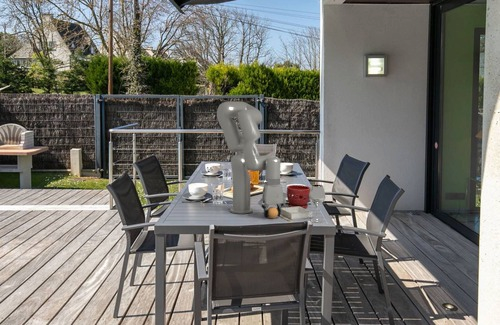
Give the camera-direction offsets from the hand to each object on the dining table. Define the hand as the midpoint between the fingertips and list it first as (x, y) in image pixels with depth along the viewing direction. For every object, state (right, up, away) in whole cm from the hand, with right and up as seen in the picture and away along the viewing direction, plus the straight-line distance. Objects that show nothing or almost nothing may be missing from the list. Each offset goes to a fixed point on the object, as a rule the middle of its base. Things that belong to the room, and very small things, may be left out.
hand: (272, 216), depth 251 cm
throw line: (+6, -1, +2) cm, 6 cm away
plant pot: (+16, +2, +25) cm, 29 cm away
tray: (+13, 0, +6) cm, 14 cm away
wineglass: (+22, -2, -4) cm, 22 cm away
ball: (0, -1, 0) cm, 1 cm away
